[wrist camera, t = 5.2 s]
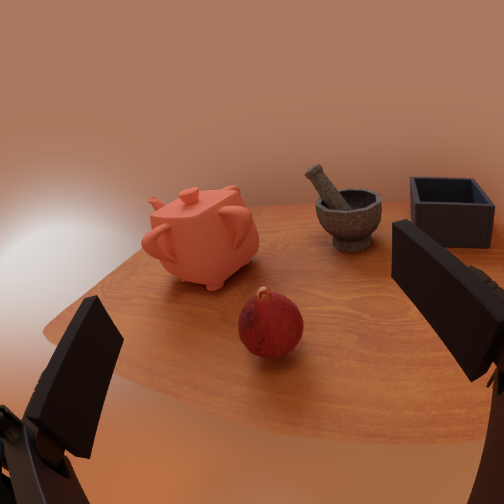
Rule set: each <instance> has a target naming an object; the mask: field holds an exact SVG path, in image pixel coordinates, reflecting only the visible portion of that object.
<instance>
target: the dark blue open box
mask: <svg viewBox="0 0 504 504" xmlns="http://www.w3.org/2000/svg"><path fill="white" fill-rule="evenodd" d="M410 195H411V196H410V197H411V218H412V223H413V224H414V225H415V226H417V227H418V228H419V229H421V230H422V231H423V232H425V233H426V234H427V235H429V236H430V237H431V238H433V239H434V240H435V241H436V242H438V243H439V244H440V245H441V246H443V247H467V248H490V242H491V236H492V229H493V222H494V213H495V205H494V204H493V203H492V201H491V200H490V199H489V197H488V196H487V195H486V193H485V192H484V191H483V190H482V189H481V187H480V186H479V185H478V183H477V182H476V181H475V180H474V179H469V178H446V177H410Z"/></svg>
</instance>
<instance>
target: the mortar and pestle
mask: <svg viewBox="0 0 504 504" xmlns="http://www.w3.org/2000/svg"><path fill="white" fill-rule="evenodd" d="M305 176H306V177H307V178H308V179H310V180H311V182H312V184H313V185H314V187H315V189H316V190H317V192H318V194H319V195H320V197H319V198H318V200H317V203H316V205H315V206H316V212H317V216H318V219H319V222H320V224H321V225H322V227H323V228H324V229H325V230H326V231H327V232H328V233H329V234H331V235H332V236H333V246H335V247H336V248H337V249H338V250H340V251H346V252H356V251H361V250H365V249H366V248H367V247H369V246H370V245H371V244H372V238H371V233H372V232H373V231H374V230H376V229H377V227H378V225H379V223H380V221H381V212H382V208H381V198H380V194H378V193H376V192H373V191H371V190H368V189H353V188H349V189H344V190H337V189H336V188H335V186H334V185H333V184H332V182H331V181H330V180H329V179H328V177H327V176H326V175H325V173H324V172H323V168H322V166H321V165H320V164H318V165H315V166H313V167H311V168H310V169H309V170H308V171H307V172H306V173H305Z"/></svg>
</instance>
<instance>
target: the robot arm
mask: <svg viewBox="0 0 504 504" xmlns="http://www.w3.org/2000/svg"><path fill="white" fill-rule="evenodd" d="M391 277H392V278H393V279H394V281H395V282H396V283H397V284H398V285H399V286H400V288H401V289H402V290H403V291H404V293H405V294H406V295H407V296H408V297H409V299H410V300H411V301H412V302H413V304H414V305H415V306H416V307H417V309H418V310H419V311H420V312H421V314H422V315H423V316H424V317H425V319H426V320H427V321H428V323H429V324H430V325H431V327H432V328H433V329H434V330H435V332H436V333H437V334H438V336H439V337H440V339H441V340H442V341H443V343H444V344H445V345H446V347H447V348H448V350H449V351H450V352H451V354H452V355H453V357H454V358H455V359H456V361H457V362H458V364H459V365H460V367H461V368H462V370H463V371H464V373H465V374H466V376H467V377H468V379H469V380H470V382H473V381H474V380H476V379H478V378H479V377H481V376H482V375H484V374H485V373H487V371H488V369H489V367H490V366H491V364H492V362H494V363H495V365H496V366H497V367H496V369H495V371H494V373H493V374H492V376H491V378H490V379H489V381H488V383H487V387H489V386H490V385H491V383H492V382H493V380H494V383H493V387H492V388H493V394H492V403H491V410H490V417H489V424H488V429H487V435H486V440H485V445H484V449H483V453H482V457H481V461H480V465H479V469H478V472H477V476H476V479H475V482H474V485H473V488H472V491H471V494H470V497H469V500H468V503H467V504H504V290H503V289H502V288H501V287H499V286H498V284H497V283H496V282H494V281H492V280H491V278H490V277H489V276H488V275H487V274H485V273H484V272H483V271H481V270H479V269H477V268H475V267H473V266H469V267H467V266H466V265H464V264H463V263H462V262H461V261H460V260H459V259H457V258H456V257H455V256H454V255H453V254H451V253H450V252H449V251H448V250H446V249H445V248H444V247H443V246H441V245H440V244H439V243H438V242H436V241H435V240H434V239H433V238H431V237H430V236H429V235H427V234H426V233H425V232H423V231H422V230H421V229H419V228H418V227H417V226H415V225H414V224H413V223H411V222H410V221H409V220H407V219H405V220H401V221H397V222H394V223H392V272H391ZM123 341H124V338H123V337H122V335H121V334H120V332H119V331H118V329H117V328H116V326H115V324H114V323H113V321H112V320H111V318H110V316H109V315H108V313H107V311H106V310H105V308H104V306H103V305H102V303H101V301H100V299H99V298H98V296H97V295H96V296H91V297H87V298H84V300H83V302H82V303H81V305H80V307H79V308H78V310H77V312H76V313H75V315H74V317H73V319H72V320H71V322H70V324H69V326H68V327H67V329H66V331H65V333H64V335H63V336H62V338H61V340H60V342H59V344H58V346H57V348H56V350H55V352H54V354H53V355H52V357H51V359H50V361H49V363H48V365H47V368H46V369H45V370H44V371H43V372H42V374H41V377H40V379H39V381H38V384H37V385H36V387H35V392H33V394H32V397H31V399H30V401H29V403H28V406H27V408H26V410H25V413H24V415H23V418H22V420H20V419H19V418H18V417H17V416H15V415H14V414H13V413H12V412H11V411H10V410H9V409H8V408H7V407H6V406H5V405H0V504H90V503H89V501H88V499H87V497H86V495H85V493H84V491H83V489H82V488H81V485H80V483H79V481H78V479H77V476H76V475H75V472H74V470H73V467H72V465H71V463H70V460H69V459H68V457H67V456H65V455H64V452H65V449H66V450H67V451H68V452H70V453H71V454H73V455H74V456H76V457H81V458H87V459H90V456H91V452H92V447H93V443H94V438H95V434H96V430H97V426H98V423H99V419H100V415H101V411H102V408H103V404H104V401H105V397H106V394H107V390H108V387H109V384H110V380H111V377H112V374H113V371H114V368H115V365H116V362H117V359H118V356H119V353H120V350H121V347H122V344H123ZM2 467H3V468H4V469H6V470H7V471H9V474H10V478H9V477H7V476H6V475H4V474H3V473H2Z"/></svg>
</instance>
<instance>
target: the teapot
mask: <svg viewBox="0 0 504 504" xmlns="http://www.w3.org/2000/svg"><path fill="white" fill-rule="evenodd" d="M178 196H179V198H178V199H177V200H175V201H173V202H171V203H169V204H167V205H166V206H165V205H164V204H163V203H162V202H161V201H160V200H159V199H158V198H148V199H147V200H148V202H149V203H150V204H152V206H153V207H154V209H155V212H154V213H152V214H151V216H150V219H151V226H152V230H151V231H150V232H148V233H147V234H146V235H145V236H144V237H143V239H142V241H141V245H142V248H143V249H144V251H145V252H146V253H148V254H149V255H150V256H152V257H154V258H156V259H159V260H160V262H161V263H162V265H163V266H164V268H165V269H166V270H167V271H168V272H169V273H171V274H172V275H174V276H176V277H178V278H180V281H182V282H186V281H189V282H193V283H198V284H204V285H206V287H207V290H209V291H215V290H218V289H220V288H221V287H222V286H223V285H224V281H225V280H226V279H227V278H228V277H230V276H231V275H232V274H233V273H235V272H236V271H237V270H238V269H239V268H241V267H242V266H244V265H247V264H248V263H250V261H251V259H250V258H252V257H253V256H254V255H255V254H256V253H257V251H258V247H259V236H258V232H257V229H256V226H255V224H254V221H253V219H252V214H251V212H250V210H249V209H248V208H247V206H246V205H245V203H244V201H243V199H242V197H241V196H240V189H239V188H238V187H237V186H235V185H234V186H233V185H231V186H228V187H226V188H223V189H222V190H206V191H199V188H197V187H194V188H189V189H186V190H184V191H182V192H180V193H179V194H178Z"/></svg>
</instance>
